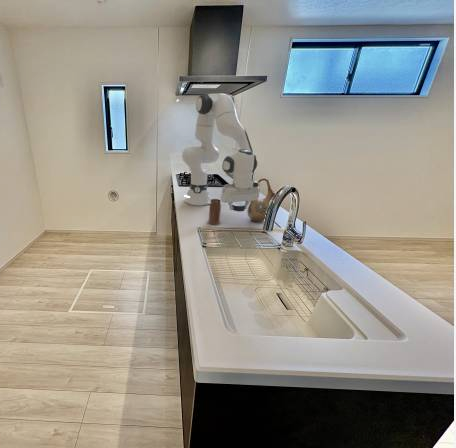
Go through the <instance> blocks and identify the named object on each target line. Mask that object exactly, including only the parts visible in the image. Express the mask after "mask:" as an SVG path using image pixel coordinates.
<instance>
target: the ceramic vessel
mask: <svg viewBox="0 0 456 448" xmlns="http://www.w3.org/2000/svg"><path fill="white" fill-rule="evenodd" d="M262 181H264V182H266V186H267V194H266V196H265V198H262V199H259V198H258V199H257V200H253V201H250V203H249V204H248V206H247V209H246V211H247V217H248V218H249V219H250V220H251V221H252V222H255V223H260V222H263V221H265V220H266V219H265V215H266V211H267V209H268V207H269V206H270V202H271V200H272V199H273V198H274V197H275V196H276V195H275V194H276V193H275V192H274V191H273V190H272V187H271V185H270V180H269V179H267V178H265V177H263V178H260V179H259V180H258V181H257V182H258V183H260V184H261V182H262ZM264 219H265V220H264Z"/></svg>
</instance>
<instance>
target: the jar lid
mask: <svg viewBox="0 0 456 448" xmlns="http://www.w3.org/2000/svg"><path fill="white" fill-rule="evenodd" d="M232 206H233V207H234V210H233V212H234V211H235V212H244V211H245V210H246V209H245V203H243V202H233V204H232Z"/></svg>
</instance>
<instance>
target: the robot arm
mask: <svg viewBox="0 0 456 448" xmlns="http://www.w3.org/2000/svg"><path fill="white" fill-rule="evenodd" d="M195 104H196V105H195V109H196V111H197V113H198V114H197V120H196V123H195V125H196V126H195V132H194V137H195V139H196V140H197V141H198V142H200V143H201V145H200V146H190V147H186V148H184V149H183V150H182V154H181V158H182V159H181V160H182V161H183V162H184V164H186V165H187V166H188V168H189V170H190V183H189V189H188V190H187V194H184V195H183V196H184V197H185V198H186V199H185V200H184V203H187V204H188V205H191V206H196V207H198V206H199V207H201V206H206V205H210V203H211V199H210V196H209V194H210V193H209V191H208V171H207V170H206V169H204V168H202V166H201V165H202V164H211V163H215V162H217V161H218V160H219V158H220V150H219V149H218V148H217V147H216V145H215V143H214V138H213V137H214V129H215V125H216V129H217V131H218V132H219V133H220V134H221V135H223V136H226V137H229V138H230V139H233V140H234V141H236V143H237V145H238V147H239V149H238V150H237V151H236V153H234V154H231V155H227V156H226V157H224V159H223V161H222V171H223V172H224V173H225V174H227V175H233V176H232V183H226V184H225V185H223V186H222V190H221V195H220V200H221V202H222V203H228V206H229V210H230V211H234V207H233V206H232V204H233V203H241V202H244V204H245V210H248V207H249V205H250V202H251V201H253V200H257V199H258V200H259V198H260V188H259V187H260V186H261V182H260V183H258V181H255V180H253V175H252V174H253V173H254V172H255V170H256V169H257V167H258V159H257V157H256V154H255V153H254V151H253V148H252V145H251V141H250V139H249V136H248V133H247V130H246V128H245V127H244V126H243V124H241V122H240V120H239V118H238V114H237V113H238V112H237V109H236V105H235V98H234V96H233V95H231V94H228V93H219V92H217V93H216V92H215V93H203V94H199V96H198V97H197V99H196V102H195Z"/></svg>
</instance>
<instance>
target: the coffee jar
mask: <svg viewBox="0 0 456 448" xmlns="http://www.w3.org/2000/svg"><path fill="white" fill-rule="evenodd" d="M210 202H211V203H210V204H209V209H208V221H207V224H209V225H214V226H216V225H219V224H220V220H221V211H222V204H221V202H222V201H221V199H218V198H212V199H210Z"/></svg>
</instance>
